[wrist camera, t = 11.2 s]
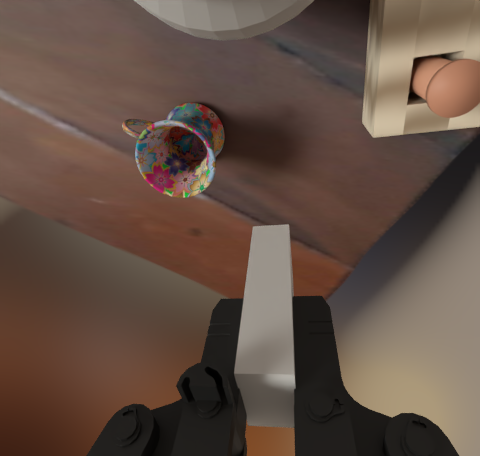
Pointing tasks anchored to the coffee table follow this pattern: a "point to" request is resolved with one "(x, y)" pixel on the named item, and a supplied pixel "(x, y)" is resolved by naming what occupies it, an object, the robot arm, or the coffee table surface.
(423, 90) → the terracotta plug
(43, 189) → the coffee table surface
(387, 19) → the block
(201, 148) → the mug
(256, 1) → the vase
